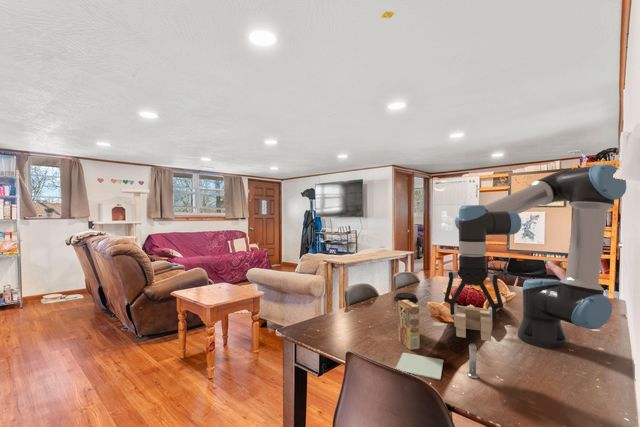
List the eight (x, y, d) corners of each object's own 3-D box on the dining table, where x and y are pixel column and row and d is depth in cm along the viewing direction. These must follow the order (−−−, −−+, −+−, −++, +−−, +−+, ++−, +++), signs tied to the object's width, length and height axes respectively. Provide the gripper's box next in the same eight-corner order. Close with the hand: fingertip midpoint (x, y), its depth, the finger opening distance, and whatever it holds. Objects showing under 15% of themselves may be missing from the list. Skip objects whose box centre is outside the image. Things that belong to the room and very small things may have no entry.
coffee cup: (419, 337, 122) (419, 298, 122) (394, 335, 124) (394, 297, 124) (416, 328, 131) (416, 292, 131) (393, 327, 133) (393, 291, 133)
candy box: (420, 349, 112) (420, 306, 112) (409, 350, 111) (409, 306, 111) (407, 339, 120) (407, 299, 120) (397, 340, 119) (397, 300, 119)
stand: (478, 374, 94) (478, 343, 94) (478, 379, 91) (478, 346, 91) (467, 372, 95) (467, 341, 95) (467, 377, 92) (467, 345, 92)
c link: (457, 324, 101) (457, 305, 101) (488, 328, 98) (488, 308, 98) (456, 336, 91) (456, 315, 91) (491, 341, 88) (491, 319, 88)
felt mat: (443, 361, 102) (443, 359, 102) (440, 380, 91) (440, 378, 91) (402, 353, 108) (402, 352, 108) (395, 370, 96) (395, 369, 96)
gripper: (511, 255, 96) (512, 328, 96) (436, 251, 106) (436, 318, 106) (514, 258, 90) (515, 337, 90) (433, 254, 99) (434, 326, 99)
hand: (472, 327), depth 98 cm, fingers closed on c link, 9 cm apart
